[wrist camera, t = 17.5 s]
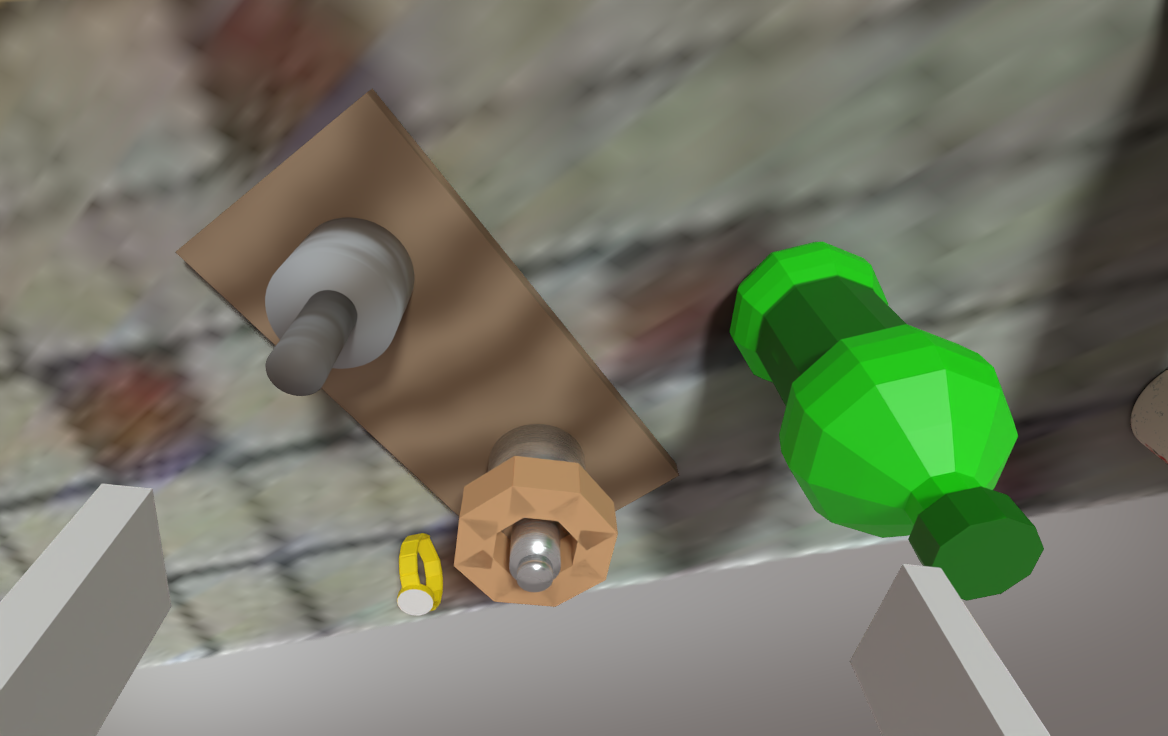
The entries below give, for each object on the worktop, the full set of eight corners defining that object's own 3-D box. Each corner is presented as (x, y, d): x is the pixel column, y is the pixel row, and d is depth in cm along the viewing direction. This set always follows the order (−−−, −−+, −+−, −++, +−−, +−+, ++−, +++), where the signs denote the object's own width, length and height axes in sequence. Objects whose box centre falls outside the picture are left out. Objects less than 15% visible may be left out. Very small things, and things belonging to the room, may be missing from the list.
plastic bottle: (758, 199, 45) (954, 418, 23) (894, 255, 47) (1187, 501, 26) (689, 330, 49) (800, 615, 28) (816, 375, 52) (1010, 671, 30)
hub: (469, 455, 52) (450, 572, 42) (547, 407, 50) (547, 516, 40) (527, 514, 55) (523, 635, 45) (603, 470, 53) (616, 586, 43)
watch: (399, 524, 58) (382, 575, 52) (431, 517, 57) (418, 568, 52) (423, 579, 60) (410, 633, 55) (454, 572, 60) (444, 626, 55)
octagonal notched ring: (455, 564, 49) (450, 597, 47) (468, 450, 44) (463, 480, 42) (594, 577, 51) (597, 610, 48) (622, 467, 46) (627, 498, 43)
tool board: (186, 243, 45) (51, 347, 33) (372, 88, 41) (298, 141, 28) (515, 554, 59) (506, 706, 47) (676, 463, 55) (712, 603, 43)
